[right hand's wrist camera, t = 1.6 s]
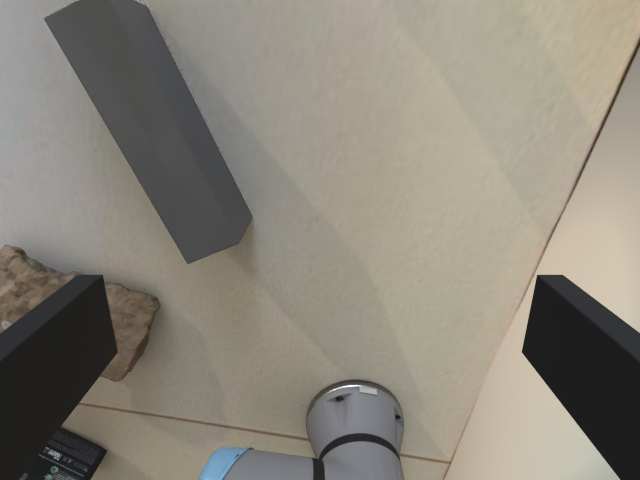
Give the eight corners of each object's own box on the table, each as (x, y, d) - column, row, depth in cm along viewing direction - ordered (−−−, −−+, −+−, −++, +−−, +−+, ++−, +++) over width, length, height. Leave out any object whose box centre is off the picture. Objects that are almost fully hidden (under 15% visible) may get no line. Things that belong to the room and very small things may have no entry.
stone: (-22, 337, 56) (-49, 359, 51) (10, 239, 55) (-14, 249, 49) (135, 374, 63) (126, 396, 57) (168, 286, 61) (163, 300, 55)
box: (252, 217, 54) (239, 243, 45) (209, 234, 54) (187, 264, 46) (146, 5, 45) (103, -14, 36) (97, 31, 46) (43, 18, 37)
